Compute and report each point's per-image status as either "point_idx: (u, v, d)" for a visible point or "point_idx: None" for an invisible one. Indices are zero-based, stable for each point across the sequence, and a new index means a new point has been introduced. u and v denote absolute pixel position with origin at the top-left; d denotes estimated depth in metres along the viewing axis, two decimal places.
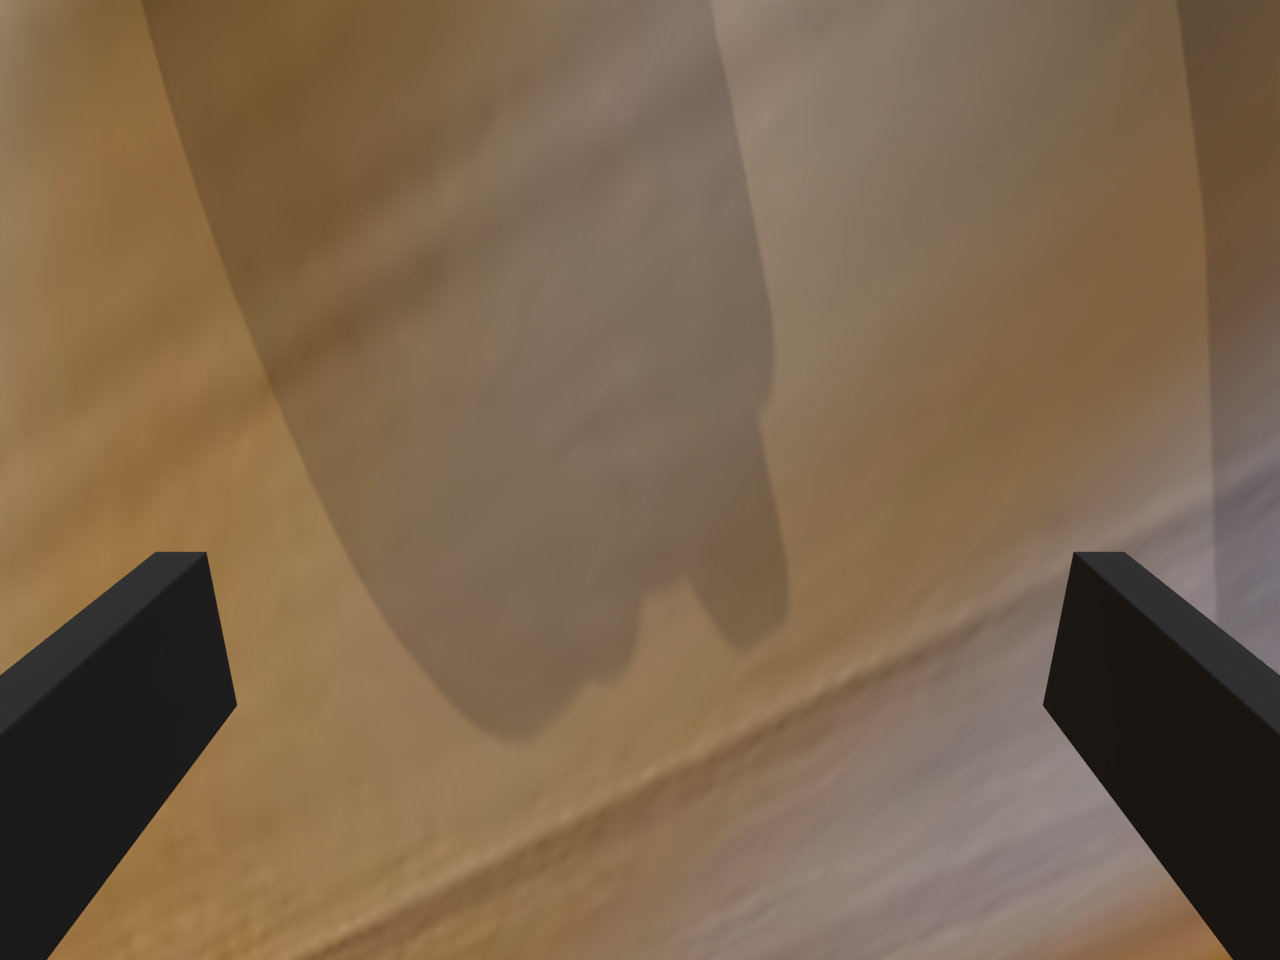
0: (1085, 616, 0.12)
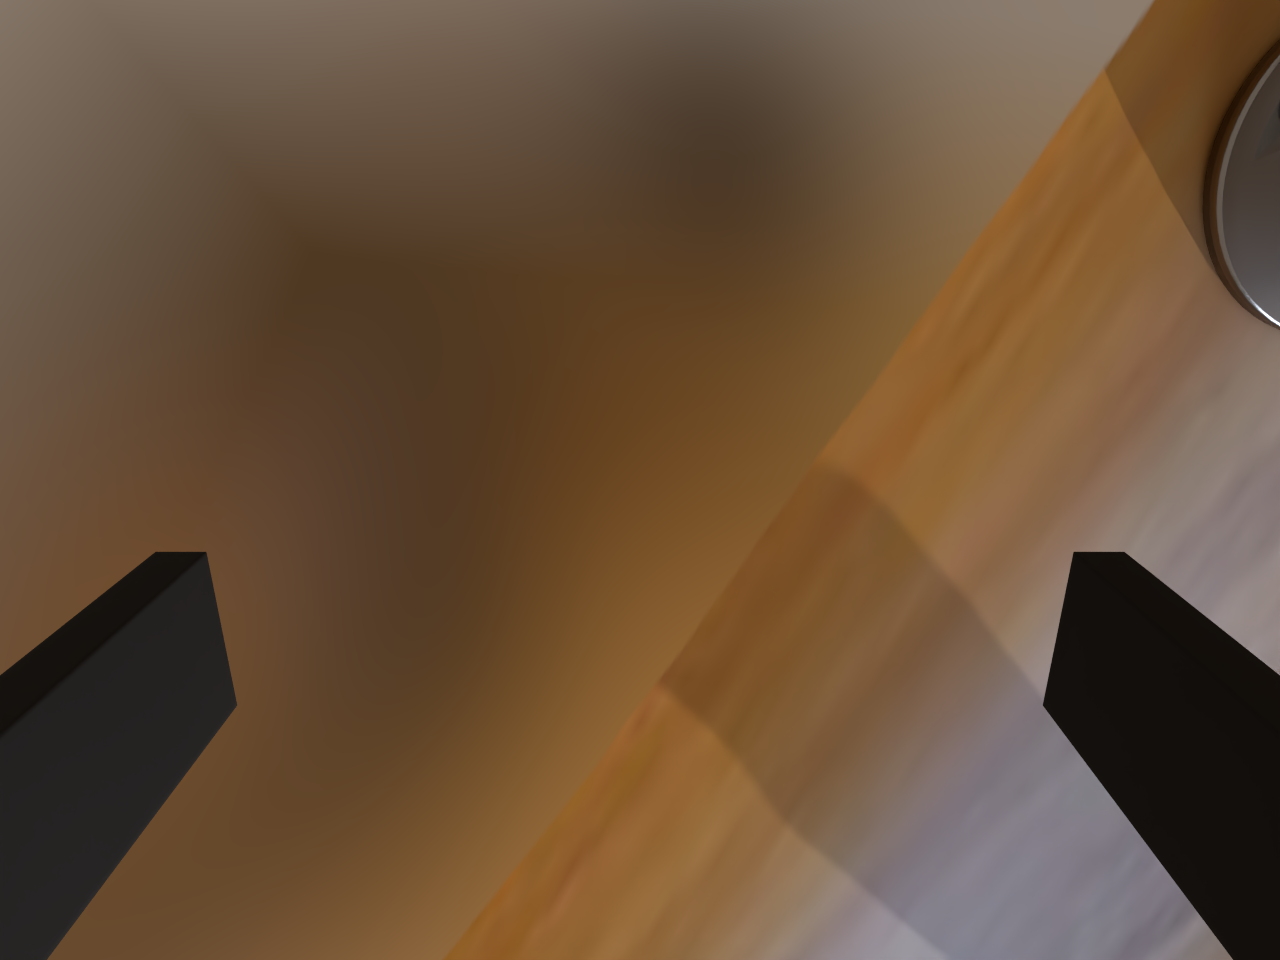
0: (1085, 616, 0.12)
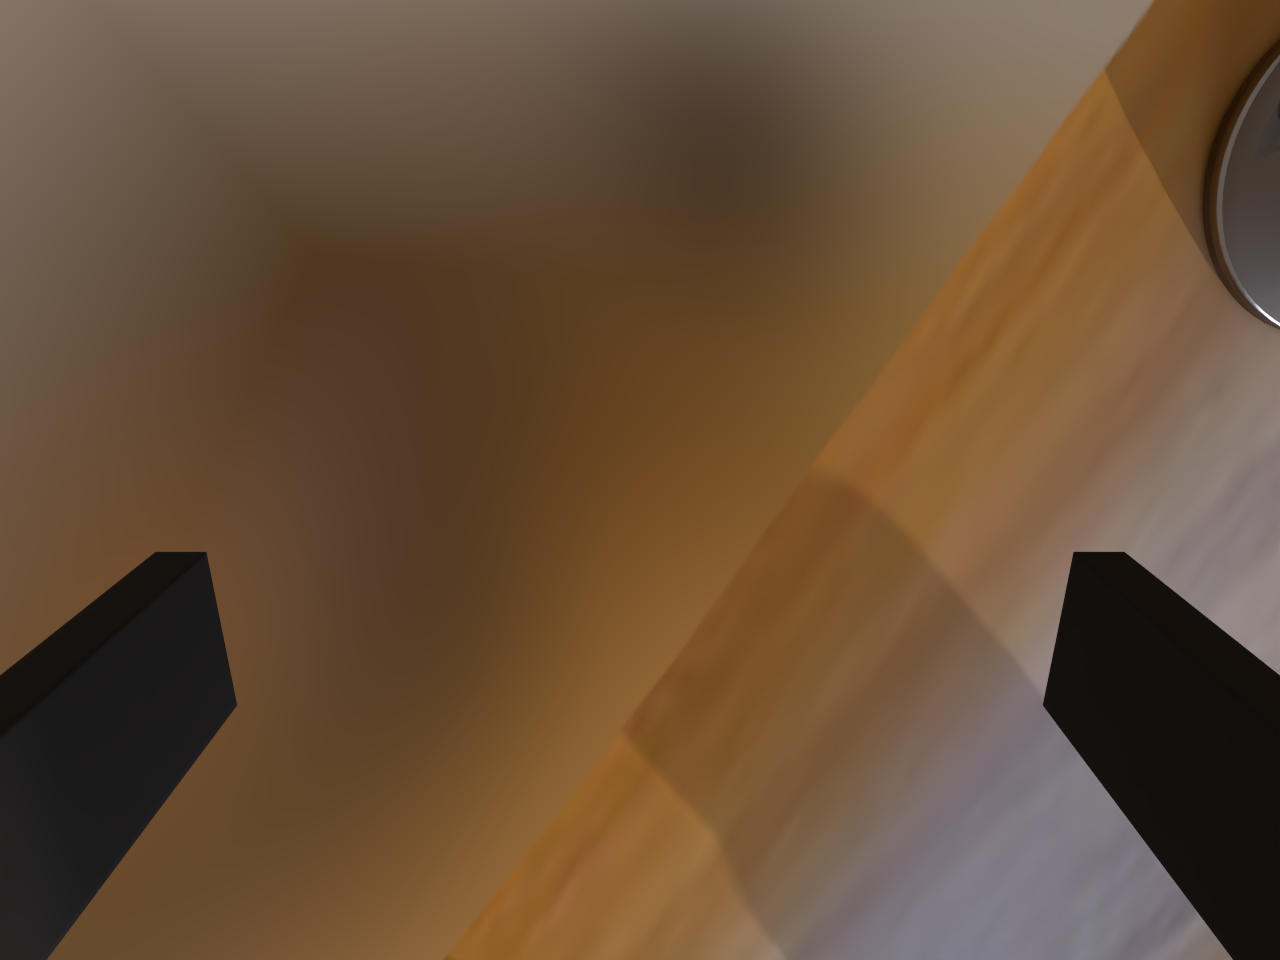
0: (1085, 616, 0.12)
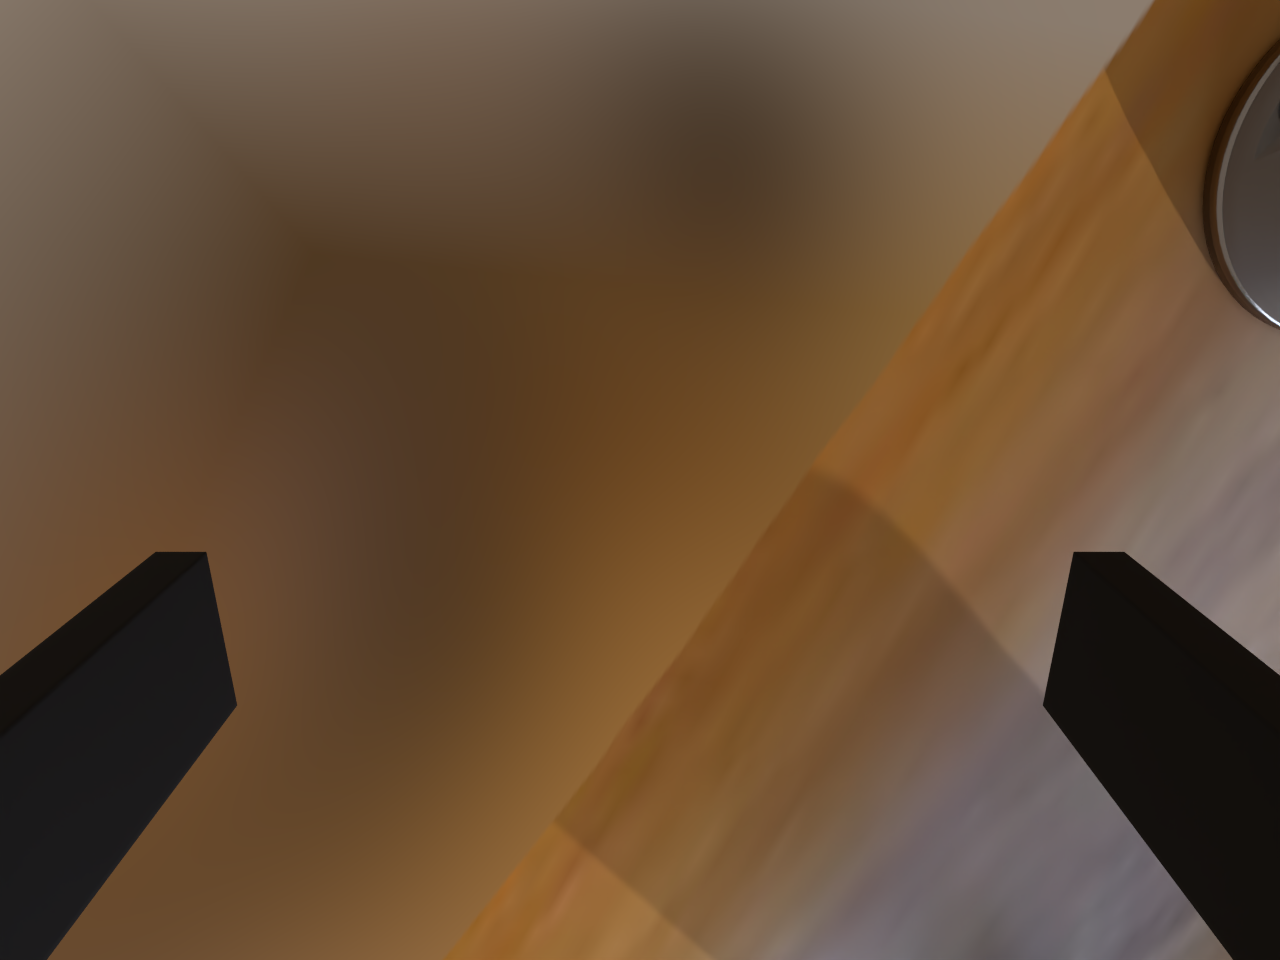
0: (1085, 616, 0.12)
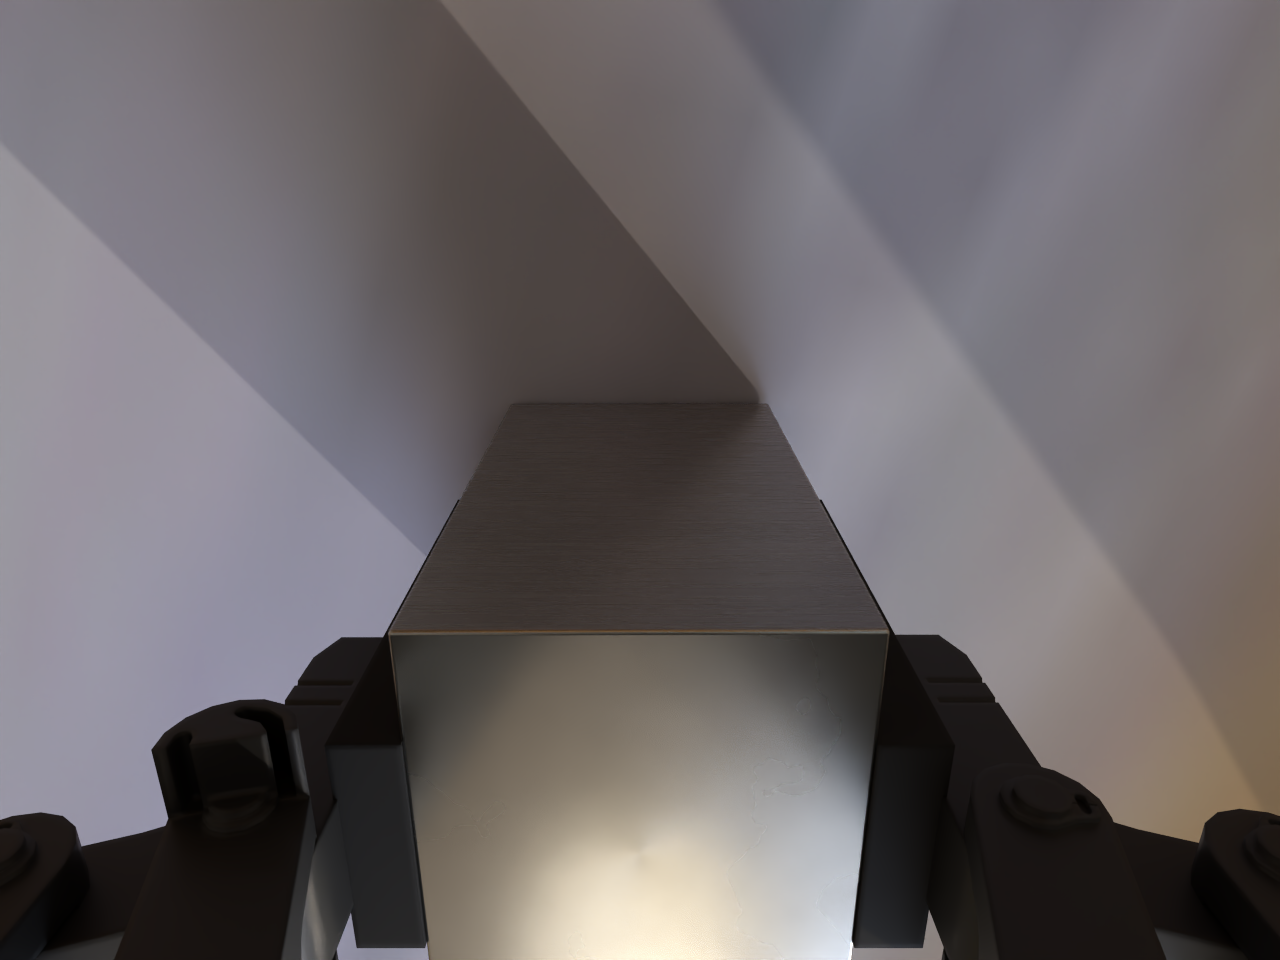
0: None
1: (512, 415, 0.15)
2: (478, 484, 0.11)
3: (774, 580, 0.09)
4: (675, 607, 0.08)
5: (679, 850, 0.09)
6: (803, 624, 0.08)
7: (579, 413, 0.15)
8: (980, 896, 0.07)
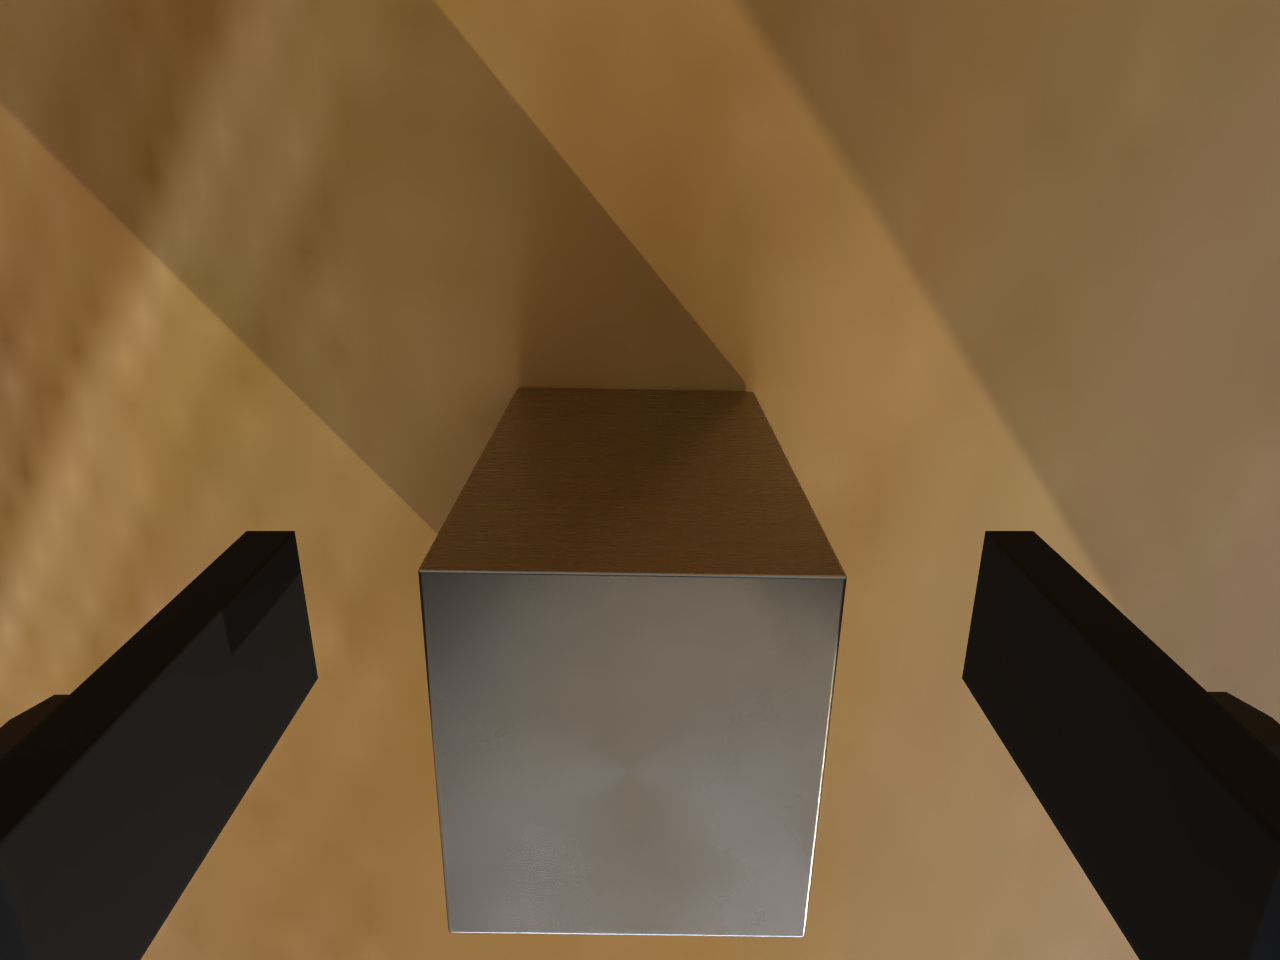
0: (994, 591, 0.13)
1: (519, 397, 0.16)
2: (490, 455, 0.13)
3: (750, 536, 0.10)
4: (664, 555, 0.10)
5: (663, 768, 0.10)
6: (773, 569, 0.09)
7: (580, 397, 0.16)
8: None
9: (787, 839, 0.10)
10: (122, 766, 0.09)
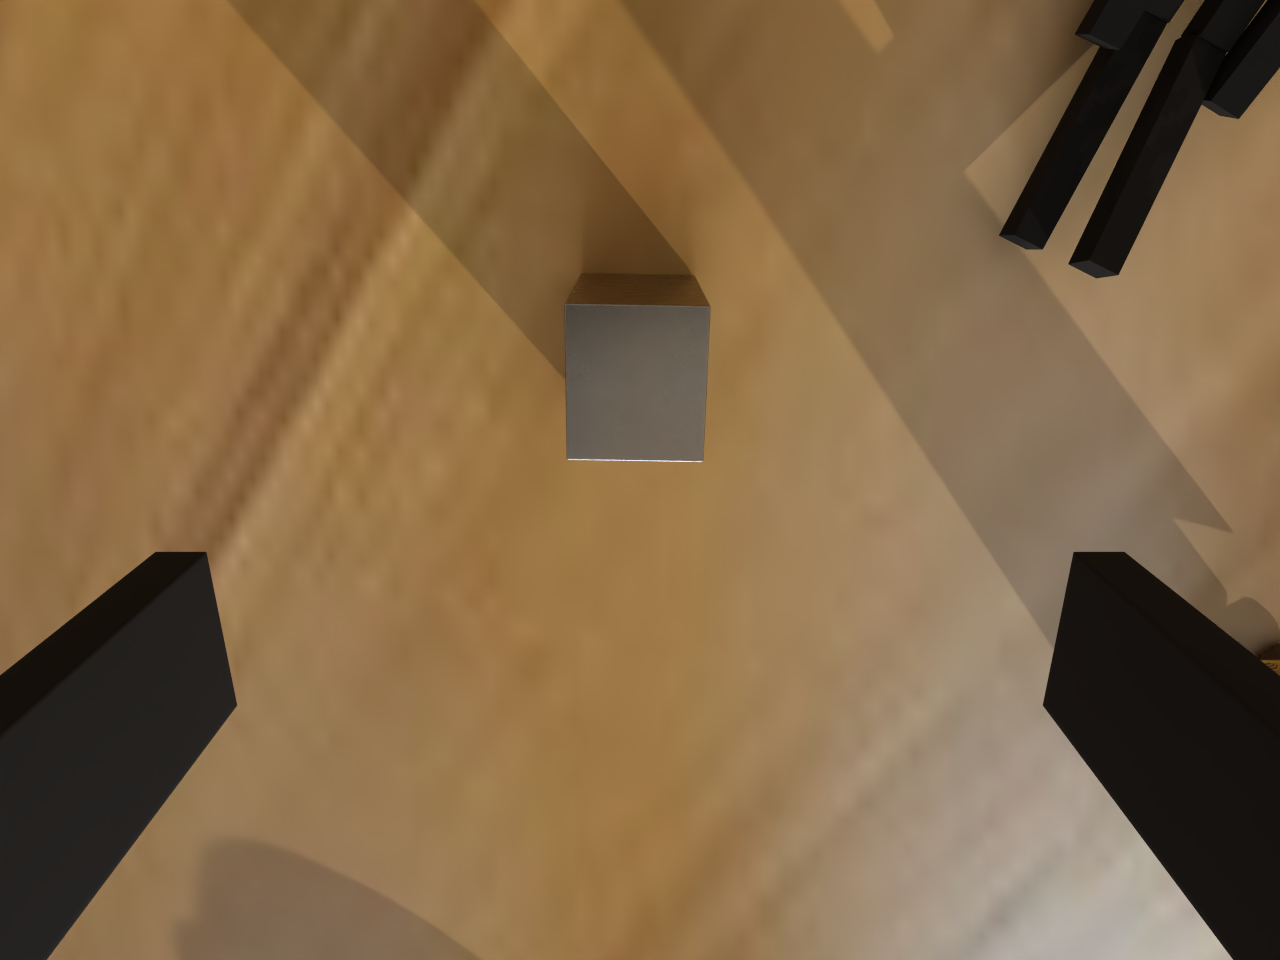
0: (1085, 616, 0.12)
1: (583, 275, 0.34)
2: (577, 287, 0.31)
3: (679, 300, 0.28)
4: (648, 302, 0.27)
5: (648, 384, 0.28)
6: (685, 304, 0.27)
7: (611, 275, 0.34)
8: None
9: (694, 415, 0.28)
10: None
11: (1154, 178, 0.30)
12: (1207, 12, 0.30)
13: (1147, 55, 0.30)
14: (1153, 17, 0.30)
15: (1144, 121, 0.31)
